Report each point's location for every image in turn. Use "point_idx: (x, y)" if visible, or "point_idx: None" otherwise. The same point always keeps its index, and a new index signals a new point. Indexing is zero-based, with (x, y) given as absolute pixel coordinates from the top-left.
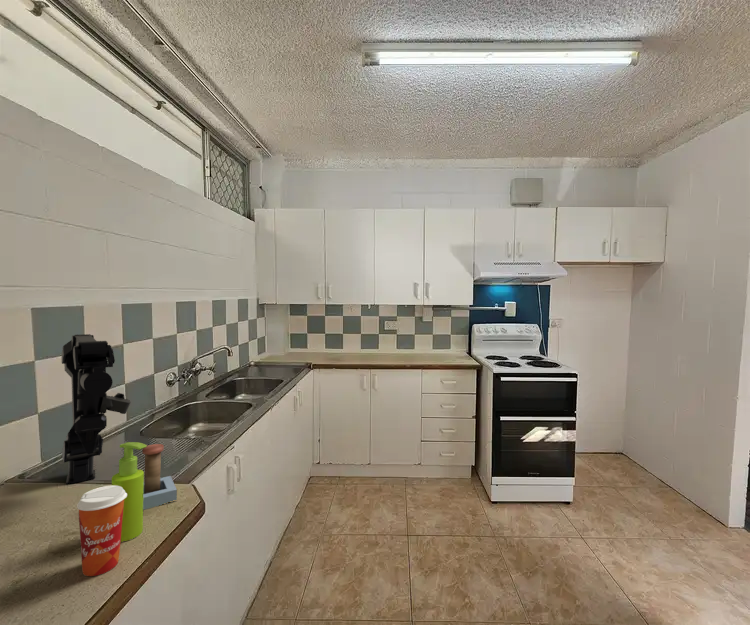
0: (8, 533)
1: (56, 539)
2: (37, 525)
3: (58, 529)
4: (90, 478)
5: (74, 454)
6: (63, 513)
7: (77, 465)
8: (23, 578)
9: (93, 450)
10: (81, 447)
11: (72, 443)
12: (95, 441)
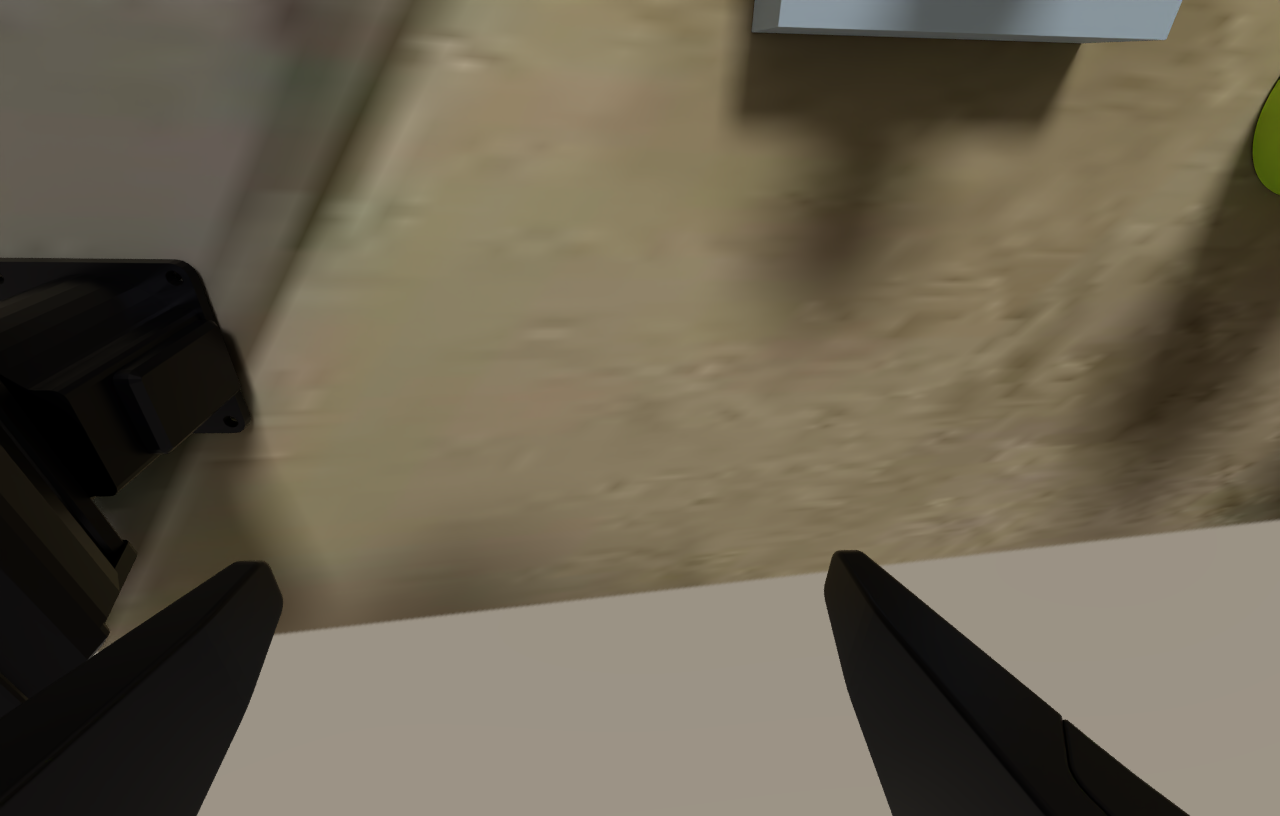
0: (779, 572)
1: (1017, 423)
2: (786, 497)
3: (914, 422)
4: (198, 293)
5: (95, 547)
6: (727, 413)
7: (140, 443)
8: (1227, 493)
9: (889, 577)
10: (29, 557)
11: (14, 684)
12: (1059, 719)
